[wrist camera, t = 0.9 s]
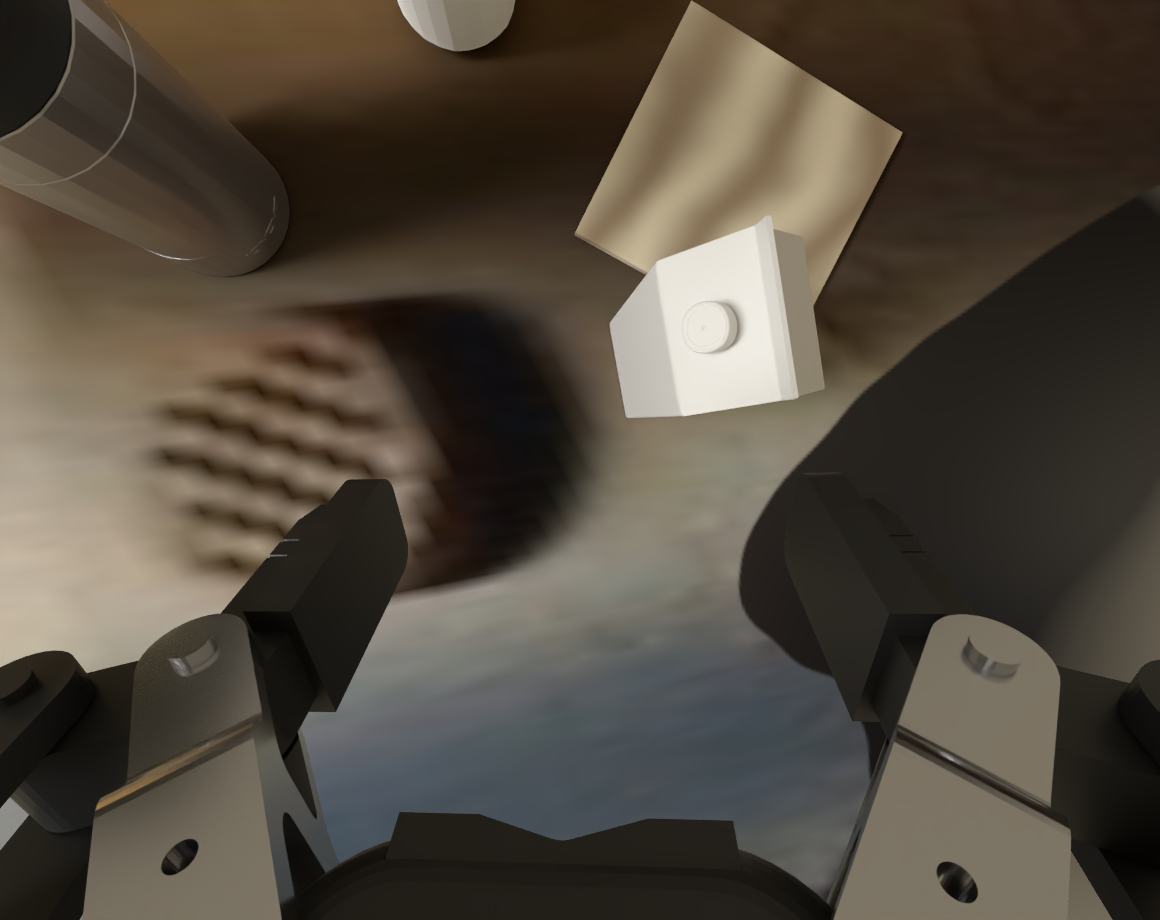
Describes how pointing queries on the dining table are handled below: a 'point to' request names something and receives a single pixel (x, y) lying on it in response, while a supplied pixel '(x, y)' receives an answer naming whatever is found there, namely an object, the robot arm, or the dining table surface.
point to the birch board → (736, 154)
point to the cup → (458, 21)
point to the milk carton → (720, 328)
